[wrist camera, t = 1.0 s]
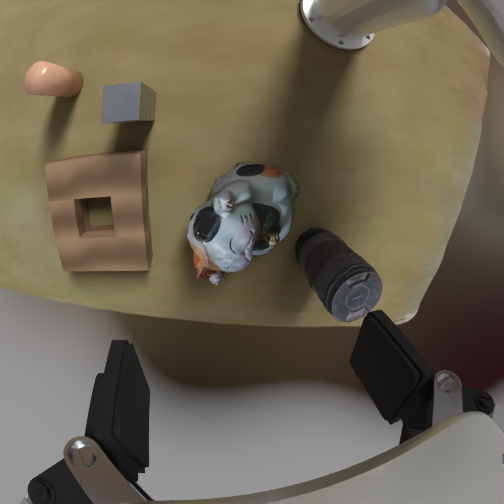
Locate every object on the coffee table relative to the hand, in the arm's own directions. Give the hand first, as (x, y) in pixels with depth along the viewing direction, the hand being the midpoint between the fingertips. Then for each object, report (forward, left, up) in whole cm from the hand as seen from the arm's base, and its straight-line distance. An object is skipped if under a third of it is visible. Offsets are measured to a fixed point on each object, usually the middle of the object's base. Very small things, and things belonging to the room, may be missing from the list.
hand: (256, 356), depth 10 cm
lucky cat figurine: (+5, +4, -31) cm, 31 cm away
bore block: (+3, -16, -31) cm, 35 cm away
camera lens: (+10, +17, -31) cm, 37 cm away
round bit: (-16, -21, -31) cm, 40 cm away
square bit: (-11, -10, -31) cm, 34 cm away
